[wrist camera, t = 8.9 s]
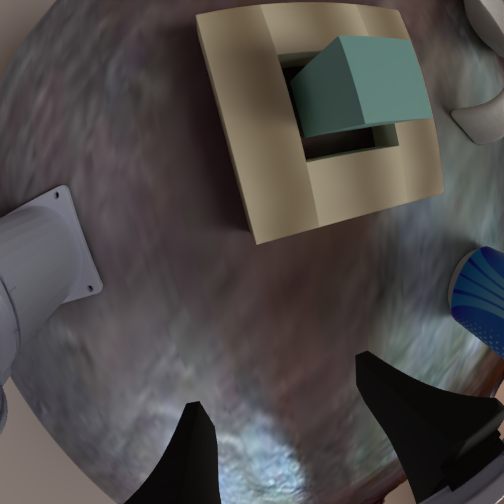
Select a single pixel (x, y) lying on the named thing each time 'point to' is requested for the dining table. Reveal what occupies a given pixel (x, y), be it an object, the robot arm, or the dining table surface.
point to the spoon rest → (500, 108)
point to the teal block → (360, 86)
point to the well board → (285, 126)
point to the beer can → (480, 296)
